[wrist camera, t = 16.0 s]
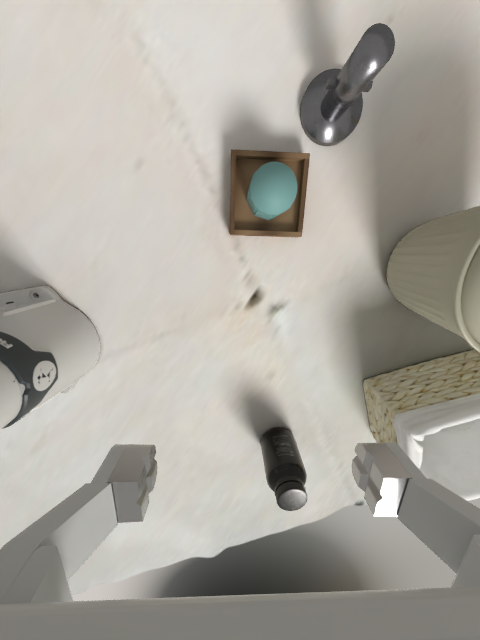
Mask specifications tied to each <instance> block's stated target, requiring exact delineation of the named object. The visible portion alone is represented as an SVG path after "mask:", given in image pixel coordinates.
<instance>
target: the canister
mask: <svg viewBox="0 0 480 640" xmlns="http://www.w3.org/2000/svg"><path fill="white" fill-rule="evenodd" d="M386 276H387V282H388V285H389V289H390V290H391V293H392V294H393V295H394V296H395V298H396V299H397V300H398V301H399V302H400V303H401V304H402V305H404V306H406V307H407V308H409V309H411V310H412V311H414V312H416V313H418V314H419V315H421V316H423V317H425V318H426V319H428V320H430V321H432V322H434V323H436V324H438V325H440V326H442V327H443V328H445V329H447V330H449V331H451V332H453V333H455V334H457V335H459V336H460V337H462V338H464V339H465V340H466V341H467V343H468V344H469V345H470V346H471V347H473V348H474V349H475V350H476V351H478V352H479V353H480V206H478V207H474V208H471V209H467V210H464V211H460V212H457V213H454V214H450V215H447V216H444V217H441V218H437V219H434V220H431V221H428V222H426V223H424V224H422V225H420V226H418V227H416V228H415V229H413V230H412V231H410V232H409V233H408V234H407V235H406V236H404V237H403V238H402V239H401V241H400V242H399V243H397V246H396V247H395V249H393V252H392V254H391V256H390V259H389V262H388V267H387V274H386Z"/></svg>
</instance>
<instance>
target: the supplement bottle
mask: <svg viewBox="0 0 480 640" xmlns="http://www.w3.org/2000/svg"><path fill="white" fill-rule="evenodd" d="M261 448H262V454H263V460H264V466H265V473H266V479H267V483H268V485H269V487H270V488H271V489H272V490H273V491H274V492H275V496H276V500H277V504H278V506H279V507H280V508H281V509H283V510H288V511H293V510H298V509H300V508H301V507H303V506H304V505H305V504H306V502H307V494H306V491H305V486H304V485H305V482H306V471H305V468H304V465H303V462H302V459H301V456H300V453H299V450H298V447H297V444H296V441H295V439H294V436H293V434H292V433H291V432H290V431H289V430H287V429H285V428H273V429H270V430H268V431H267V432H266V433H265V434H264V435H263V437H262V439H261Z"/></svg>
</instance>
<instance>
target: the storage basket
mask: <svg viewBox="0 0 480 640" xmlns="http://www.w3.org/2000/svg"><path fill="white" fill-rule="evenodd" d="M363 389H364V392H365V400H366V407H367V411H368V418H369V421H370V429H371V431H372V434H373V437H374V439H375V440H376V442H377V443H396V444H398V445H399V446H400V448H401V449H402V450H403V451H404V452H405V453H406V455H407V456H408V457H409V458H410V459H411V460H412V462H413V463H414V464H415V465H416V466H417V467H418V469H419V470H420V471H421V472H422V473H423V475H424V476H425V477H426V478H427V479H432V480H434V481H436V482H437V483H439V484H441V485H442V486H444V487H445V488H447V489H449V490H450V491H452V492H453V493H455V494H457V495H458V496H460V497H462V498H463V499H465V500H466V501H469V500H473V499H477V498H480V353H479V352H478V351H476V350H471V351H465V352H462V353H459V354H454V355H450V356H447V357H445V358H444V357H443V358H437V359H433V360H431V361H429V362H423V363H420V364H417V365H414V366H408V367H404V368H402V369H399V370H398V369H397V371H392V372H390V373H386V374H385V373H383V374H381V375H378V376H375V377H371V378H368V379H365V380H364V382H363Z"/></svg>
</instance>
